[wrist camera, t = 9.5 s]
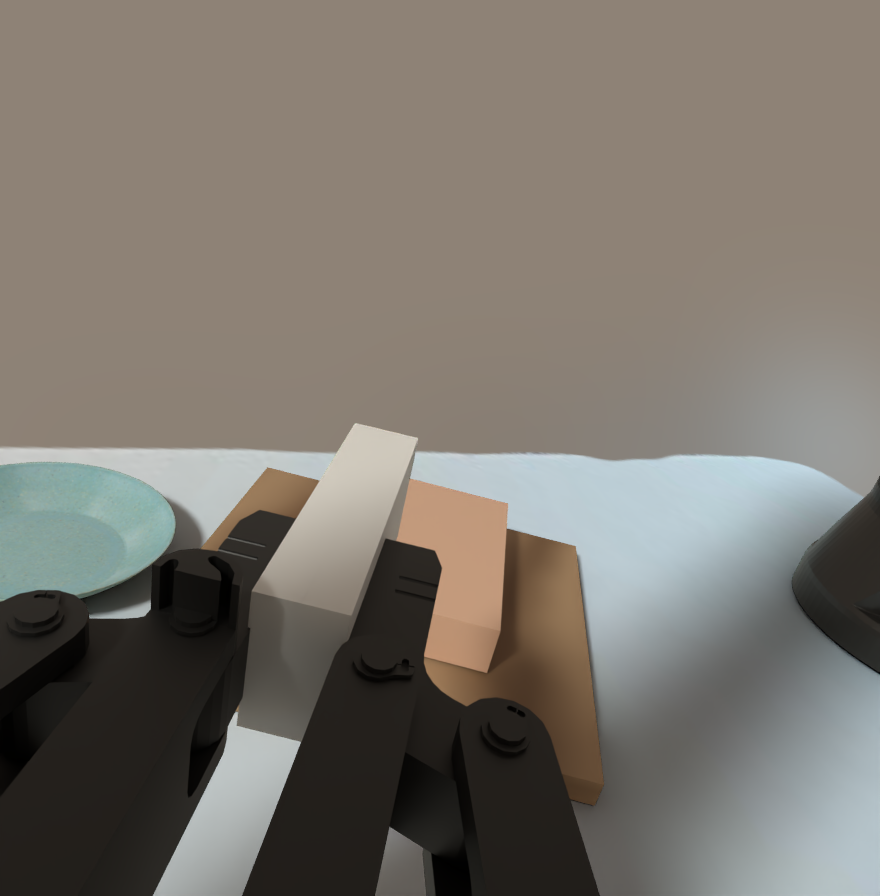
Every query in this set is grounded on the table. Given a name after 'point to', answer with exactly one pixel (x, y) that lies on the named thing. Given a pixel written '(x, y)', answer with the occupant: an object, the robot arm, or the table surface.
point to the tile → (460, 569)
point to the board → (503, 636)
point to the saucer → (77, 528)
